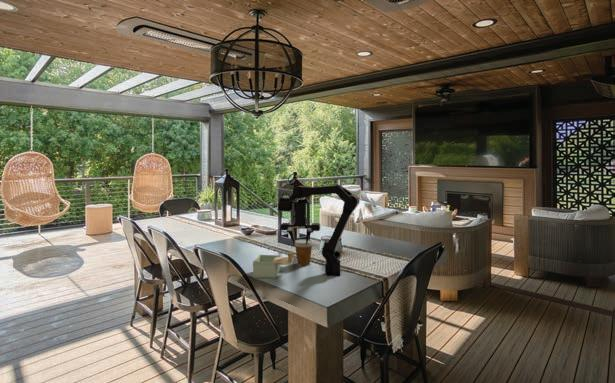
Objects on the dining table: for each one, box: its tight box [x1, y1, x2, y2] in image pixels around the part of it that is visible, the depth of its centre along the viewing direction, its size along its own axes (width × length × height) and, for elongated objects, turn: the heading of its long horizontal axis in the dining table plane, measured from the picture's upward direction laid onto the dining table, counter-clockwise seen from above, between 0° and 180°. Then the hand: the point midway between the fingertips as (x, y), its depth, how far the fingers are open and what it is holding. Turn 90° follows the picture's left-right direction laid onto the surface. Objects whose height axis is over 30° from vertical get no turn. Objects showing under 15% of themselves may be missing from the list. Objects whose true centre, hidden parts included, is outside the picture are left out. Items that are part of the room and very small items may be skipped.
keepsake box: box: [252, 254, 281, 280], centre depth 176 cm, size 10×12×8 cm
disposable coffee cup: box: [294, 238, 314, 267], centre depth 191 cm, size 10×10×12 cm
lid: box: [272, 250, 294, 266], centre depth 174 cm, size 9×10×4 cm
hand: (300, 244), depth 180 cm, fingers open, 6 cm apart
